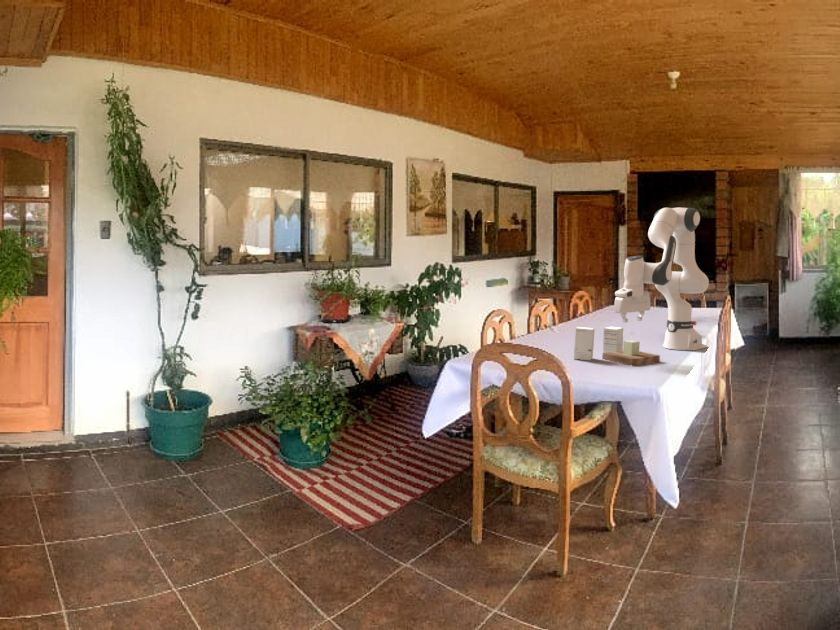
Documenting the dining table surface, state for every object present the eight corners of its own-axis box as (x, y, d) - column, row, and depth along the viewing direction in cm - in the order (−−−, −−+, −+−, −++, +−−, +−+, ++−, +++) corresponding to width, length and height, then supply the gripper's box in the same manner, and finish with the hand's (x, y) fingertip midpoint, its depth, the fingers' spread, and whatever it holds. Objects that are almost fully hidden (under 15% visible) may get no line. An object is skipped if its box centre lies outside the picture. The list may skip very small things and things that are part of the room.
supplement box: (608, 351, 352) (609, 326, 350) (623, 352, 347) (624, 327, 346) (602, 353, 346) (603, 327, 345) (616, 355, 342) (617, 329, 340)
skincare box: (573, 359, 331) (574, 328, 329) (575, 357, 336) (576, 326, 334) (591, 360, 328) (592, 329, 326) (593, 358, 333) (594, 327, 331)
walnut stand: (629, 355, 340) (629, 349, 340) (659, 361, 325) (659, 355, 324) (602, 359, 331) (602, 352, 331) (631, 365, 316) (632, 359, 315)
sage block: (630, 352, 331) (631, 340, 330) (639, 354, 327) (639, 341, 326) (623, 353, 328) (623, 341, 328) (631, 355, 324) (631, 342, 323)
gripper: (643, 289, 332) (642, 318, 334) (612, 292, 321) (611, 322, 323) (654, 290, 326) (653, 320, 328) (622, 293, 316) (621, 324, 318)
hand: (632, 321), depth 326 cm, fingers open, 8 cm apart
